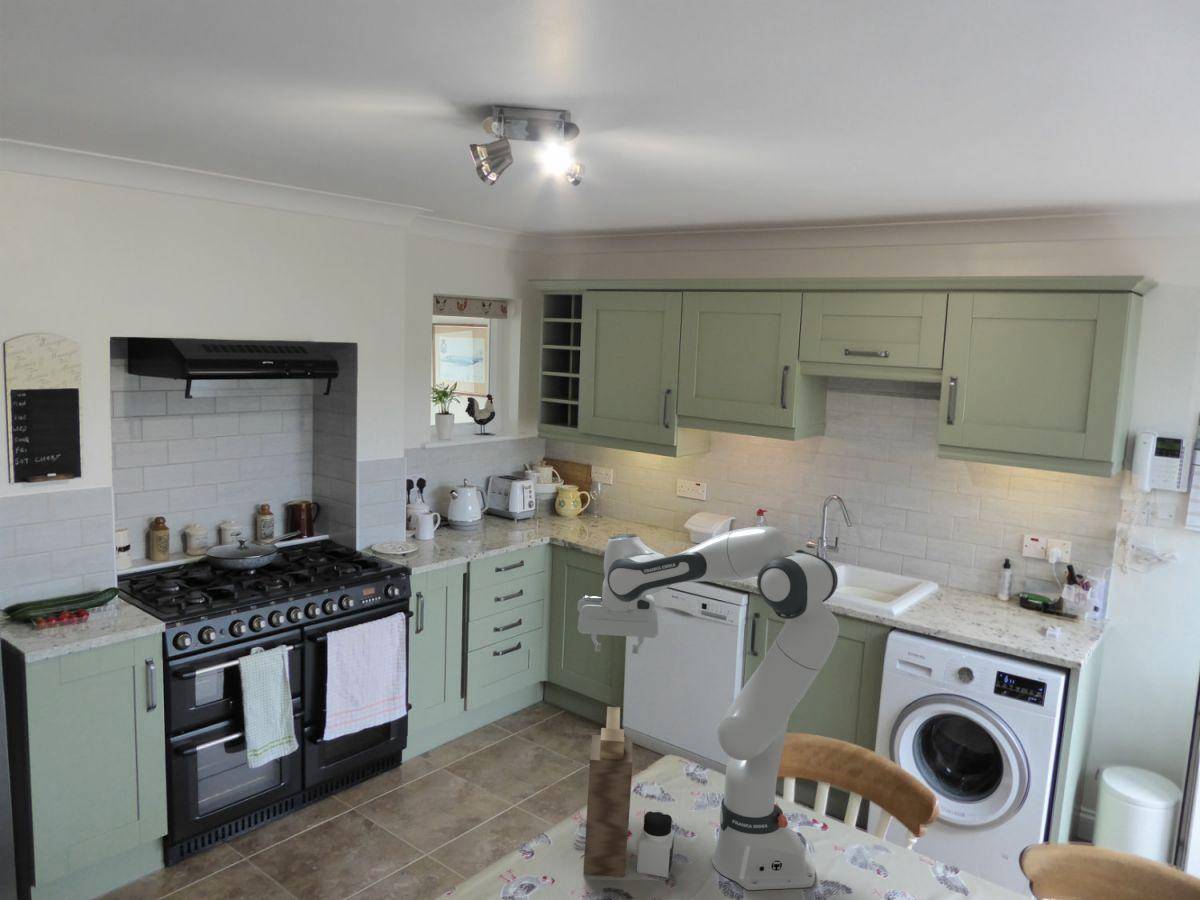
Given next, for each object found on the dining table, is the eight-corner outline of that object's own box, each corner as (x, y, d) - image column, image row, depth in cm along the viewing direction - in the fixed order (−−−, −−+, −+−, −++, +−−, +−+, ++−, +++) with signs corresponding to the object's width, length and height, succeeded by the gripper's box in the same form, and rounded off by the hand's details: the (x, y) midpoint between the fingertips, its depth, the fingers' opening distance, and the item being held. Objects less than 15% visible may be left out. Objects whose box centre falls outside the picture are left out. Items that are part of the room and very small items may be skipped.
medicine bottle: (668, 878, 187) (672, 826, 186) (636, 872, 188) (639, 820, 187) (672, 860, 194) (676, 809, 193) (641, 854, 195) (644, 804, 194)
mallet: (623, 719, 204) (624, 703, 204) (623, 759, 184) (624, 741, 184) (602, 718, 204) (603, 702, 204) (599, 758, 185) (600, 740, 184)
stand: (625, 846, 198) (632, 737, 195) (625, 877, 186) (632, 762, 183) (585, 843, 199) (592, 734, 196) (583, 874, 187) (590, 759, 184)
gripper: (577, 599, 213) (574, 653, 215) (660, 604, 213) (657, 658, 214) (578, 592, 220) (575, 645, 221) (659, 597, 219) (656, 650, 221)
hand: (616, 651), depth 218 cm, fingers open, 8 cm apart
